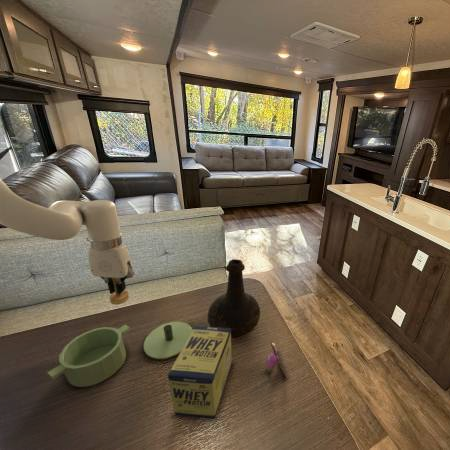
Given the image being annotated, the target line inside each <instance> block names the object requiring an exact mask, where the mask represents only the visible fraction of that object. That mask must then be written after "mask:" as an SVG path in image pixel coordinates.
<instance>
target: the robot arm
mask: <svg viewBox="0 0 450 450" xmlns="http://www.w3.org/2000/svg"><path fill="white" fill-rule="evenodd" d="M117 211H118V210H117V207H116V204H115V203H114V202H113V201H111V200H109V199H96V200H89V201H86V200H85V201H82V200H58V201H55V202H53V203H51V204H50V206H48V207H45V206H42V205H40V204H36V203H34V202H32V201H29V200H27V199H25V198H23V197H21V196H20V195H18V194H17V193H15V192H14V191H13V190H11V188H9V186H8V185H7V184H6V183H5V182H4V181H3V180H2V179H1V178H0V225H2V226H4V227H6V228H8V229H10V230H13V231H16V232H19V233H23V234H25V235H26V234H27V235H30V236H34V237H38V238H42V239H46V240H52V241H53V240H54V241H66V240H69V239H73V238H75V237H76V236H77V235H78V234H80V231H81V229H82V227H83V226H85V227H86V231H87V235H88V236H86V241H87V242H89V243H90V245H89V247H88V254H87V255H88V256H87V257H88V265H89V270H90V273H91V275H92V276H94V277H98V278H100V279H101V280H103V281H104V283H105V284H106V285H107V287H108V291H109V294H110V295H111V294H113V293H114V292H115V289H114V285H113V281H112V278H116V280H117V284H116V289H117V293H118V294H121V293H122V292H123V291H124V290H126V288H127V287H126V286H127V285H126V282H125V280H127V279H132V278H133V277H134V276H135V274H136V273H135V271H134V270H133V261H132V258H131V255H130V252H129V249H128V247H127V244H126V243H124V242H123V236H122V231H121V225H120V221H119V217H118V212H117Z"/></svg>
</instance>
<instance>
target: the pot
mask: <svg viewBox="0 0 450 450" xmlns="http://www.w3.org/2000/svg"><path fill="white" fill-rule="evenodd" d="M129 331H131V328H130V326H128V325H127V324H123V325H122V326H120V327H119V328H116V327H109V326H104V327H97V328H94V329H91V330H88V331H85V332H83V333H82V334H80V335H78V336H76V337H74V338H73V339H72V340H71V341H69V342H68V343H67V344H66V345H65V346H64V347H63V349H62V351H61V352H60V353H59V365H57V366H55V367H54V368H52V369H51V370H49V371H47V372H46V374H47V375H48V376H49V378H50V379H51V380H55V379H57V378H58V377H60V376H61V375H63V374H64V376H65V378H66V381H67V382H68V383H69V384H70V385H71V386H73V387H77V388H86V387H91V386H95V385H97V384H99V383H101V382H103V381H105V380H108V379H109V378H110V377H112V376H113V375H114V374H115V373H116V372H118V371H119V370H120V369H121V367H122V366H123V365H124V363H125V361H126V358H127V351H126V347H125V343H124V340H123V335H124V334H126V333H128V332H129Z"/></svg>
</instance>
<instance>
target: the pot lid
mask: <svg viewBox="0 0 450 450" xmlns="http://www.w3.org/2000/svg"><path fill="white" fill-rule="evenodd" d="M192 330H193V328H192V326H191V325H190V324H189V323H186V322H184V321H170V322H167V323H163V324H162V325H159V326H157V327H155V328H154V329H153V330H151V332H150V333H149V334H148V335H147V336H146V338H145V340H144V343H143V351H144V353H145V354H146V356H148V357H149V358H151V359H154V360H166V359H169V358H173V357H175V356H177V355H179V354H180V352H181V350H182V348H183V347H184V345H185V343H186V341H187V339H188V338H189V336H190V334H191V332H192Z"/></svg>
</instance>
